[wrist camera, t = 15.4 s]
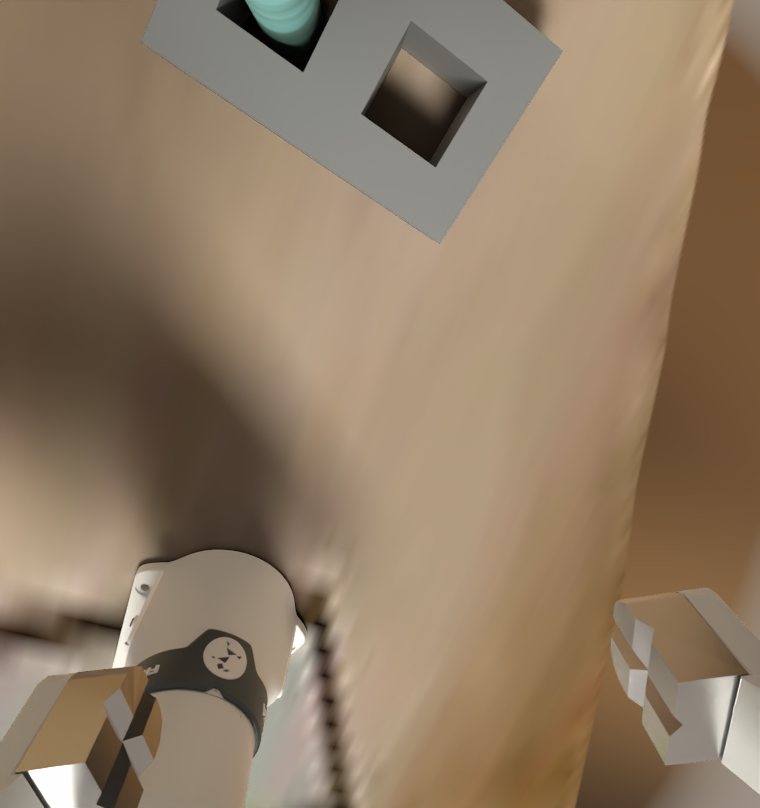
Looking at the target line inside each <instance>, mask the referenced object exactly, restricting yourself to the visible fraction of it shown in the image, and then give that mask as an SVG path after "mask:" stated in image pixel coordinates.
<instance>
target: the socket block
mask: <svg viewBox="0 0 760 808" xmlns="http://www.w3.org/2000/svg"><path fill="white" fill-rule="evenodd" d="M249 13H250V8H249V6H248V4H247V3H246V1H245V0H157V3H156V5H155V8H154V10H153V13H152V16H151V18H150V21H149V23H148V26H147V29H146V31H145V34H144V37H143V39H142V42H141V43H143V44H144V45H146V46H147V47H148V48H150V49H151V50H153V51H154V52H155V53H157V54H158V55H160V56H161V57H163V58H164V59H165V60H167V61H168V62H170V63H171V64H172V65H174V66H175V67H177V68H178V69H180V70H181V71H183V72H184V73H186V74H187V75H189V76H190V77H192V78H193V79H194V80H196V81H197V82H199V83H200V84H202V85H203V86H205V87H206V88H208V89H209V90H211V91H212V92H214V93H215V94H217V95H218V96H220V97H221V98H223V99H224V100H226V101H227V102H229V103H230V104H232V105H233V106H235V107H236V108H238V109H239V110H240V111H242V112H243V113H245V114H246V115H248V116H249V117H251V118H252V119H254V120H255V121H257V122H258V123H260V124H261V125H263V126H264V127H266V128H267V129H269V130H270V131H272V132H273V133H275V134H276V135H278V136H279V137H281V138H282V139H284V140H285V141H287V142H288V143H289V144H291V145H292V146H294V147H295V148H297V149H298V150H300V151H301V152H303V153H304V154H306V155H307V156H309V157H310V158H312V159H313V160H315V161H316V162H318V163H319V164H321V165H322V166H324V167H325V168H327V169H328V170H330V171H331V172H333V173H334V174H335V175H337V176H338V177H340V178H341V179H343V180H344V181H346V182H347V183H349V184H350V185H352V186H353V187H355V188H356V189H358V190H359V191H361V192H362V193H364V194H365V195H367V196H368V197H370V198H371V199H373V200H374V201H376V202H377V203H379V204H380V205H382V206H383V207H384V208H386V209H387V210H389V211H390V212H392V213H393V214H395V215H396V216H398V217H399V218H401V219H402V220H404V221H405V222H407V223H408V224H410V225H411V226H413V227H414V228H416V229H417V230H419V231H420V232H422V233H423V234H425V235H426V236H428V237H429V238H431V239H433V240H434V241H436V242H438V243H439V244H440V243H441V241H442V240H443V238H444V237H445V235H446V234H447V232H448V230H449V229H450V227H451V226H452V224H453V223H454V221H455V219H456V218H457V216H458V215H459V213H460V212H461V210H462V208H463V207H464V205H465V204H466V202H467V201H468V199H469V198H470V196H471V194H472V193H473V191H474V190H475V188H476V187H477V185H478V183H479V182H480V180H481V179H482V177H483V176H484V174H485V172H486V171H487V169H488V168H489V166H490V165H491V163H492V161H493V160H494V158H495V157H496V155H497V154H498V152H499V150H500V149H501V147H502V146H503V144H504V143H505V141H506V140H507V138H508V136H509V135H510V133H511V132H512V130H513V129H514V127H515V125H516V124H517V122H518V121H519V119H520V118H521V116H522V114H523V113H524V111H525V110H526V108H527V107H528V105H529V103H530V102H531V100H532V99H533V97H534V96H535V94H536V93H537V91H538V89H539V88H540V86H541V85H542V83H543V82H544V80H545V78H546V77H547V75H548V74H549V72H550V71H551V69H552V67H553V66H554V64H555V63H556V61H557V60H558V58H559V56H560V55H561V53H562V52H563V51H562V50H561V49H560V48H559V47H557V46H556V45H555V44H554V43H553V42H552V41H550V40H549V39H548V38H547V37H546V36H545V35H543V34H542V33H541V32H540V31H539V30H537V29H536V28H535V27H534V26H533V25H532V24H530V23H529V22H528V21H527V20H526V19H525V18H523V17H522V16H521V15H520V14H519V13H518V12H516V11H515V10H514V9H513V8H512V7H511V6H509V5H508V4H507V3H506V2H505V1H503V0H339V1H338V3H337V5H336V7H335V9H334V11H333V13H332V15H331V17H330V19H329V21H328V23H327V25H326V27H325V29H324V31H323V33H322V35H321V37H320V39H319V41H318V43H317V45H316V48H315V50H314V52H313V54H312V56H311V58H310V60H309V62H308V64H307V66H306V68H305V70H304V72H302V71H300V70H299V69H298V68H296V67H295V66H294V65H292V64H291V63H289V62H288V61H287V60H285V59H284V58H282V57H281V56H280V55H278V54H277V53H275V52H274V51H273V50H271V49H270V48H268V47H267V46H266V45H264V44H263V43H261V42H260V41H259V40H257V39H256V38H255V37H253V36H252V35H250V34H249V33H248V32H246V31H245V30H243V29H242V28H243V26H244V24H245V22H246V19H247V17H248V15H249ZM401 48H403V49H404V50H405V51H406V52H408V53H409V54H410V55H412V56H413V57H414V58H415V59H417V60H418V61H419V62H421V63H422V64H423V65H424V66H426V67H427V68H428V69H430V70H431V71H432V72H434V73H435V74H436V75H437V76H439V77H440V78H441V79H443V80H444V81H445V82H446V83H448V84H449V85H450V86H452V87H453V88H454V89H455V90H457V91H458V92H459V93H461V94H462V95H463V96H465V97H466V98H467V99H466V101H465V102H464V104H463V106H462V107H461V109H460V111H459V112H458V114H457V116H456V117H455V119H454V121H453V122H452V124H451V126H450V127H449V129H448V131H447V132H446V134H445V136H444V137H443V139H442V141H441V142H440V144H439V146H438V147H437V149H436V151H435V152H434V154H433V156H432V157H431V159H430V161H429V162H427V161H426V160H424V159H423V158H422V157H420V156H419V155H417V154H416V153H415V152H413V151H412V150H410V149H409V148H408V147H406V146H405V145H403V144H402V143H401V142H399V141H398V140H397V139H395V138H394V137H392V136H391V135H390V134H388V133H387V132H385V131H384V130H383V129H381V128H380V127H378V126H377V125H376V124H374V123H373V122H371V121H370V120H369V119H367V118H366V117H365V114H366V113H367V111H368V109H369V107H370V105H371V103H372V101H373V100H374V98H375V96H376V94H377V92H378V90H379V89H380V87H381V85H382V83H383V81H384V79H385V77H386V76H387V74H388V72H389V70H390V68H391V66H392V64H393V63H394V61H395V59H396V57H397V55H398V53H399V52H400V50H401Z"/></svg>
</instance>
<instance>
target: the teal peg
mask: <svg viewBox="0 0 760 808" xmlns="http://www.w3.org/2000/svg"><path fill="white" fill-rule="evenodd" d="M245 1H246V3H247V4H248V6H249V8H250V10H251V12H252V13H253V15H254V17H255V19H256V21H257V23H258V24H259V26H260V28H261V30H262V32H263V33H264V35H265V37H266V39H267V41H268V43H269V44H270V46H271V48H272V49H273V50H274V51H275V52H276V53H277V54H278V55H280V56H281V57H282V58H284V59H285V60H288V61H291V62H301V61H305V60H307V59H309V58H311V56H312V54H313V52H314V50H315V48H316V45H317V43H318V41H319V39H320V37H321V35H322V33H323V31H324V23H323V17H322V10H321V4H320V0H245Z"/></svg>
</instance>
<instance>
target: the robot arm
mask: <svg viewBox="0 0 760 808" xmlns="http://www.w3.org/2000/svg"><path fill="white" fill-rule="evenodd" d="M145 584H146V585H145ZM147 585H148V586H147ZM613 618H614V620H615V622H616V623H617V625H618V627H619V629H618V630H617V631H616V632H615V633H614V634H613V635H612V636H611V654H612V659H613V664H614V668H615V671H616V673H617V676H618V679H619V681H620V683H621V685H622V687H623V689H624V691H625V693H626V695H627V696H628V697H629V698H630V699H632V700H633V701H635V702H636V703H637V704H639V705H640V706H642V707H643V708H644V709H643V717H642V724H643V726H644V727H645V729H646V731H647V733H648V735H649V737H650V738H651V740H652V742H653V744H654V745H655V747H656V749H657V751H658V753H659V755H660V756H661V758H662V760H663V762H664V764H665V765H674V764H683V763H692V762H702V761H712V760H722V764H724V765H725V766H726V767H727V768H728V769H730V770H731V771H732V772H733V773H735V774H736V775H737V776H738V777H739V778H741V779H742V780H743V781H744V782H745V783H747V784H748V785H749V786H750V787H751V788H753V789H754V790H755V791H756V792H758V793H759V794H760V641H759V640H758V639H757V637H756V636H755V635H754V634H753V633H752V632H751V631H750V630H749V629H748V628H747V626H746V625H745V624H744V623H743V622H742V621H741V620H740V619H739V618H738V617H737V616H736V614H735V613H734V612H733V611H732V610H731V609H730V608H729V607H728V606H727V605H726V604H725V603H724V602H723V600H722V599H721V598H720V597H719V596H718V595H717V594H716V593H715V592H714V591H712V590H710V589H708V588H700V589H692V590H685V591H679V592H675V593H674V592H669V593H663V594H656V595H649V596H642V597H635V598H629V599H622V600H617V602H616V603H615V605H614V610H613ZM306 635H307V630H306V628H305V626H304V624H303V623H302V622H301V620H300V619H299V617H298V616H297V614H296V610H295V602H294V596H293V593H292V590H291V588H290V586H289V584H288V583H287V581H286V580H285V578H284V577H283V576H282V575H281V574H280V573H279V572H278V571H277V570H276V569H275V568H273V567H272V566H271V565H269V564H268V563H266V562H264V561H263V560H261V559H259V558H257V557H254V556H252V555H249V554H246V553H242V552H237V551H231V550H207V551H201V552H196V553H193V554H190V555H187V556H185V557H182V558H180V559H178V560H175V561H171V562H160V563H148V564H144V565H142V566H140V567H139V568H138V570H137V573H136V575H135V578H134V582H133V586H132V590H131V594H130V598H129V602H128V606H127V610H126V614H125V618H124V622H123V626H122V630H121V633H120V637H119V641H118V645H117V649H116V653H115V657H114V661H113V666H112V669H102V670H93V671H84V672H77V673H69V674H60V675H52V676H48V677H46V678H45V679H44V680H42V681H41V682H40V683H39V684H38V685H37V686H36V688H35V689H34V691H33V692H32V694H31V696H30V697H29V699H28V700H27V702H26V703H25V705H24V707H23V708H22V710H21V711H20V713H19V714H18V716H17V717H16V719H15V721H14V722H13V724H12V725H11V727H10V728H9V730H8V732H7V733H6V735H5V736H4V738H3V739H2V741H1V742H0V808H245V803H246V796H247V790H248V783H249V777H250V771H251V765H252V759H253V757H254V756H255V755H256V753H257V751H258V749H259V746H260V742H261V738H262V735H263V733H264V729H265V723H266V710H267V707H268V706H270V705H271V704H272V703H273V702H274V701H275V700H276V698H280V697H281V695H282V693H283V690H284V686H285V681H286V676H287V672H288V667H289V662H290V657H291V654H292V653H294V652H295V651H296V650H297V649H298V648H299V647H301V646H302V645H303V644H304V642H305V639H306Z"/></svg>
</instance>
